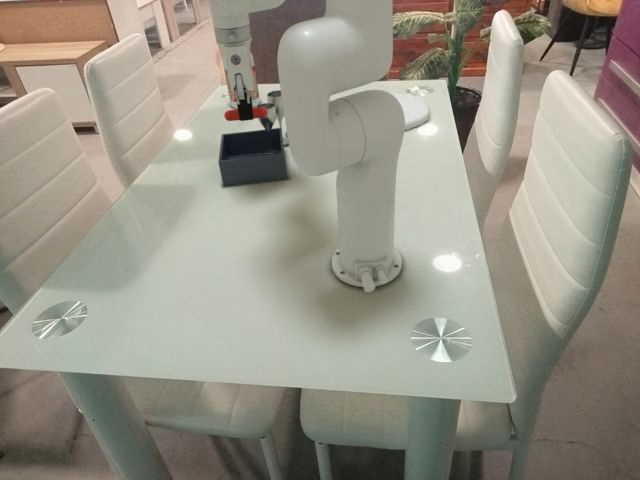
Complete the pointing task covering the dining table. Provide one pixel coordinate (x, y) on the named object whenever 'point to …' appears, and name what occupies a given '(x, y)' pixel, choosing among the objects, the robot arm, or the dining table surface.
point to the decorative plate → (413, 109)
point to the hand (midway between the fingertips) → (246, 116)
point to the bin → (252, 157)
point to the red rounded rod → (257, 113)
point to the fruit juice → (253, 94)
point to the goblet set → (273, 114)
